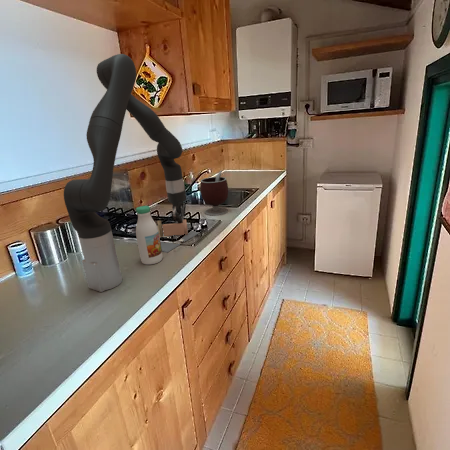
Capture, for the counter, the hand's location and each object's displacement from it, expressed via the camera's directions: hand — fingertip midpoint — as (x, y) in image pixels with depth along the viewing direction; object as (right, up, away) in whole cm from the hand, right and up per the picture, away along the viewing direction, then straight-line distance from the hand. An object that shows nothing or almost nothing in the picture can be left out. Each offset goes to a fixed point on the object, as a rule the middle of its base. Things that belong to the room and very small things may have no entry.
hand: (181, 228), depth 131 cm
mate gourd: (+15, +8, +26) cm, 31 cm away
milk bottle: (-7, -12, -22) cm, 26 cm away
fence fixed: (-11, -5, -6) cm, 14 cm away
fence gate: (-2, -3, -2) cm, 4 cm away
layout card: (-4, -4, -4) cm, 7 cm away
